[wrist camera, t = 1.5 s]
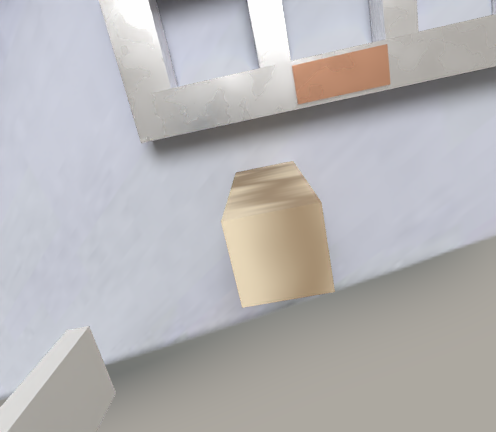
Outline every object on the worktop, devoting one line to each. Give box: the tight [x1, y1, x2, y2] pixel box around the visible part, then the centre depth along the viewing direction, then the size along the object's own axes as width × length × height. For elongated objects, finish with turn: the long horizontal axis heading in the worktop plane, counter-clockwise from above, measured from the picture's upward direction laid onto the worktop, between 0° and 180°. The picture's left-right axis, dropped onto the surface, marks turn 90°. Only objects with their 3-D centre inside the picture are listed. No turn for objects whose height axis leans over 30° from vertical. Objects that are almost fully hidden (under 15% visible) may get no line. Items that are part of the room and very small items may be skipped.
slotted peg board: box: [99, 0, 496, 143], centre depth 22 cm, size 28×12×3 cm, turn 102°
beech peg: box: [221, 161, 335, 308], centre depth 22 cm, size 4×4×12 cm
